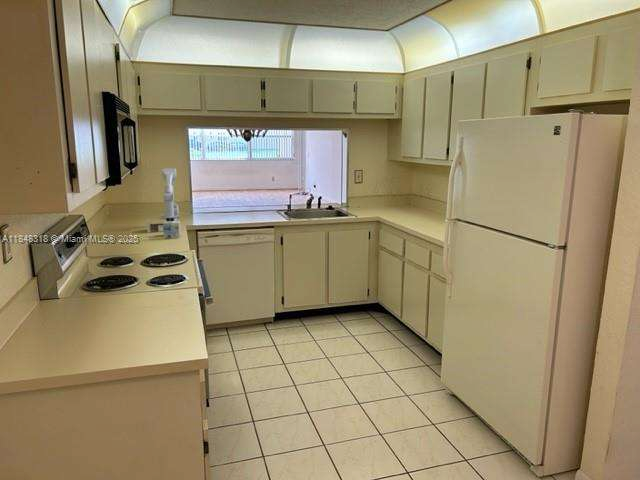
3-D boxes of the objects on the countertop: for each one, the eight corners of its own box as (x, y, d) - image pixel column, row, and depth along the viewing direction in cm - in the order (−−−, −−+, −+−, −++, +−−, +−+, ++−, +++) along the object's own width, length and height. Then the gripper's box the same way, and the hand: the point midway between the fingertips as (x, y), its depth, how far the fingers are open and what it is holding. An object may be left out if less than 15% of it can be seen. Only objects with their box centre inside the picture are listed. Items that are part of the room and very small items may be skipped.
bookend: (147, 230, 342) (146, 219, 340) (150, 229, 343) (149, 218, 341) (147, 232, 333) (146, 221, 331) (150, 232, 334) (149, 221, 332)
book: (158, 229, 344) (158, 225, 343) (165, 229, 345) (165, 225, 344) (158, 231, 336) (158, 227, 335) (165, 231, 338) (165, 227, 337)
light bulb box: (163, 238, 322) (162, 223, 320) (164, 236, 328) (163, 221, 326) (180, 238, 324) (179, 222, 322) (180, 236, 331) (180, 220, 328)
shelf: (147, 231, 344) (147, 224, 343) (173, 230, 350) (172, 222, 349) (147, 234, 333) (146, 227, 332) (173, 233, 339) (173, 225, 337)
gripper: (158, 211, 333) (160, 230, 336) (180, 210, 338) (181, 229, 341) (158, 209, 340) (160, 228, 343) (179, 208, 344) (180, 227, 347)
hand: (170, 228), depth 342 cm, fingers closed
